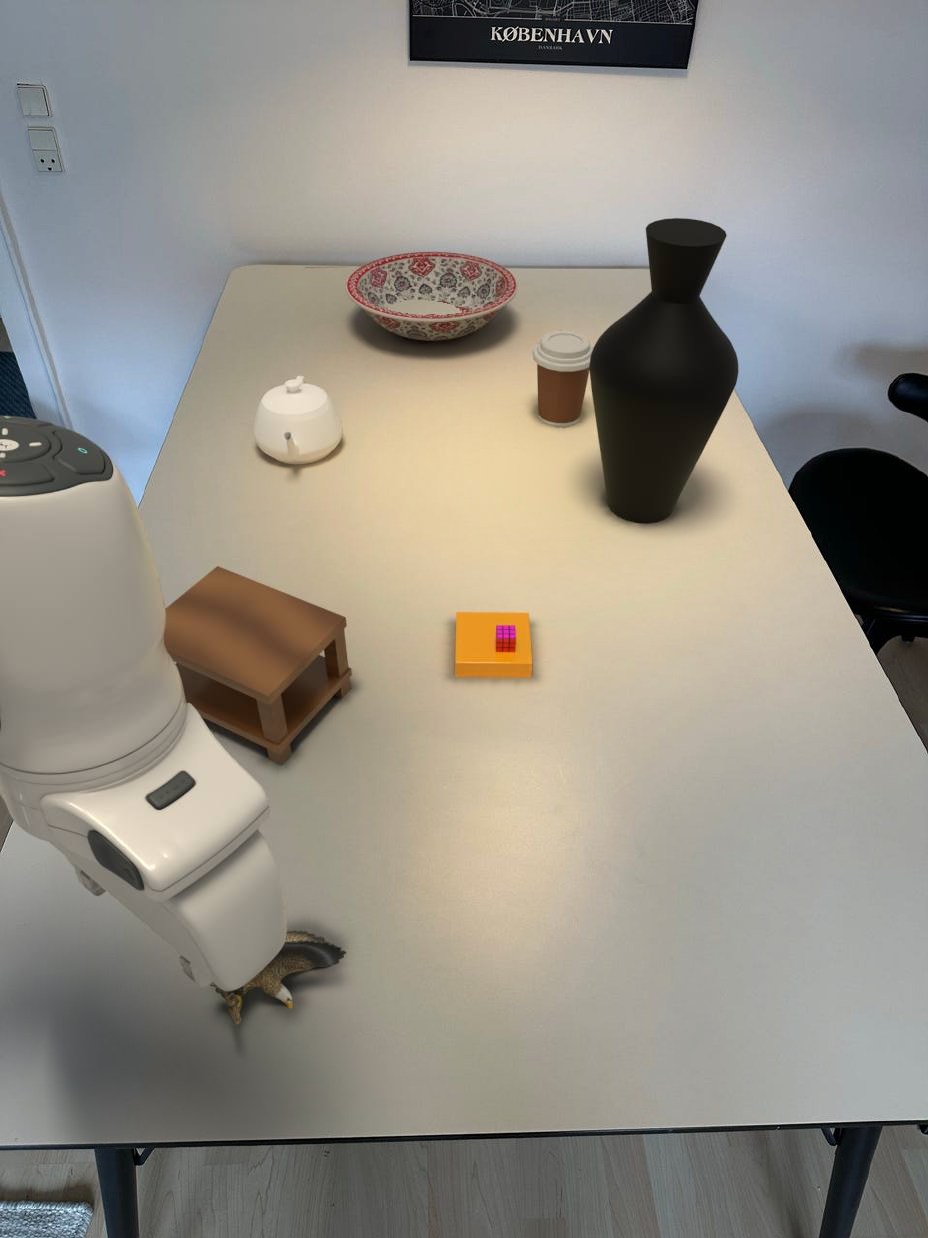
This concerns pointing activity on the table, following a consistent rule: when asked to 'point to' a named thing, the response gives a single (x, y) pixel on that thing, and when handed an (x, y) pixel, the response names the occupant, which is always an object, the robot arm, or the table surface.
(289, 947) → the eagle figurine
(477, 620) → the orange block
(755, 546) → the table surface
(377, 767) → the table surface
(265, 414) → the teapot
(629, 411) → the vase
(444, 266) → the ceramic bowl
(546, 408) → the coffee cup
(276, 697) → the shelf
